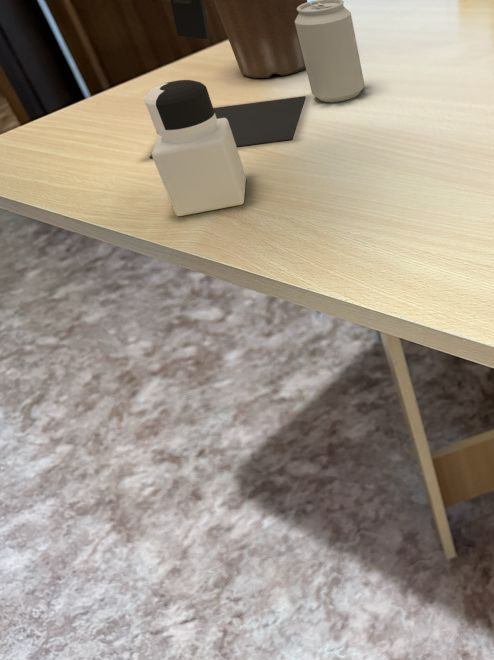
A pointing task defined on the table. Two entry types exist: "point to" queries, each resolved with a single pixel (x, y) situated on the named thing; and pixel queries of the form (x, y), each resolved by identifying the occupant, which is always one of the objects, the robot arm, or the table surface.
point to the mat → (262, 120)
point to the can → (329, 50)
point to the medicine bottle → (194, 149)
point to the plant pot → (263, 35)
